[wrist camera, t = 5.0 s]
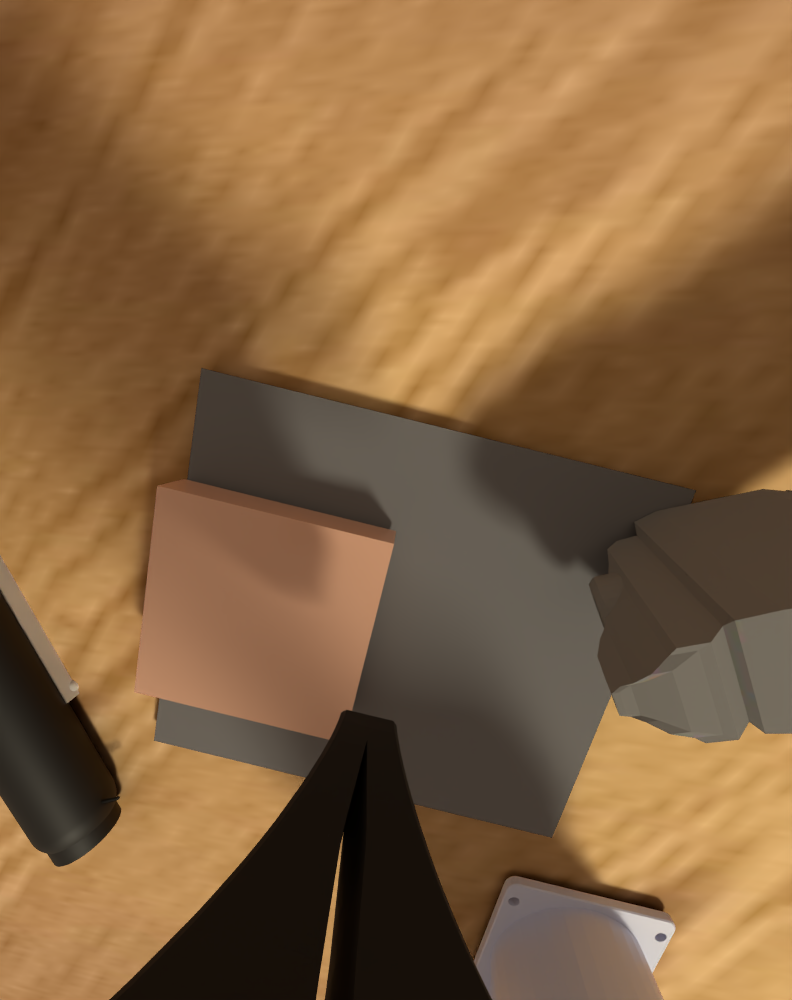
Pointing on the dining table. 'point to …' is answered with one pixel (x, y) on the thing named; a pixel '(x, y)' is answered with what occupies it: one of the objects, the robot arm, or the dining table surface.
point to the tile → (258, 607)
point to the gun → (702, 617)
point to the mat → (439, 592)
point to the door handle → (46, 741)
